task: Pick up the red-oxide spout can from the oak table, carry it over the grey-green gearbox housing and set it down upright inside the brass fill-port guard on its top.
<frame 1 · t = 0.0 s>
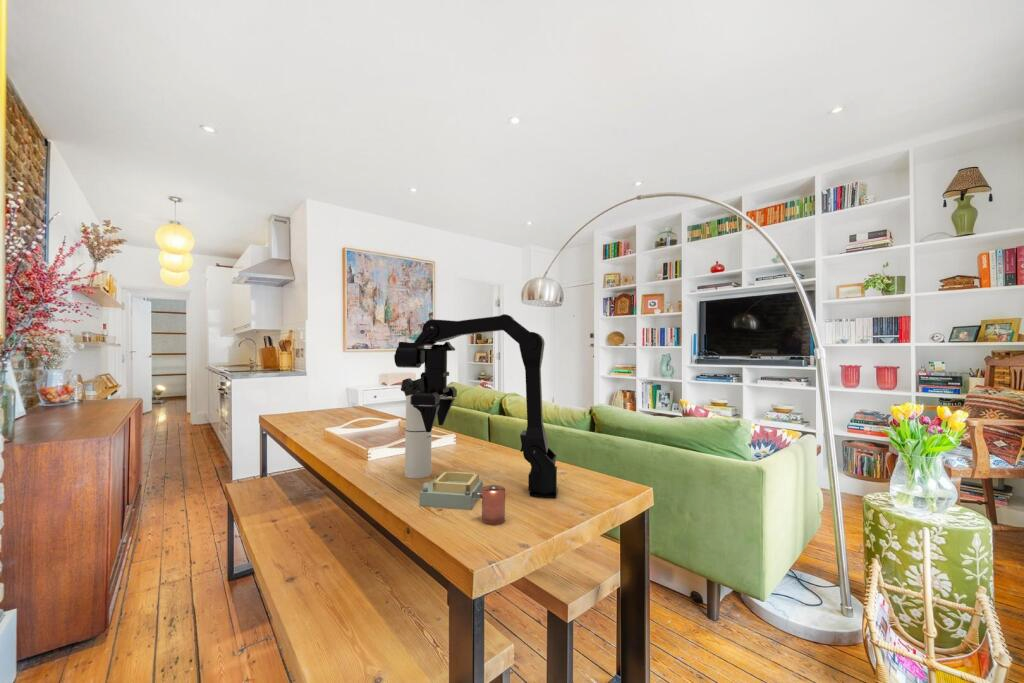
hand: (434, 428, 106), 15 cm above the table, fingers open, 9 cm apart
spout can: (493, 520, 85), on the table
cylindrical container: (418, 475, 115), on the table
gearbox housing: (452, 498, 97), on the table
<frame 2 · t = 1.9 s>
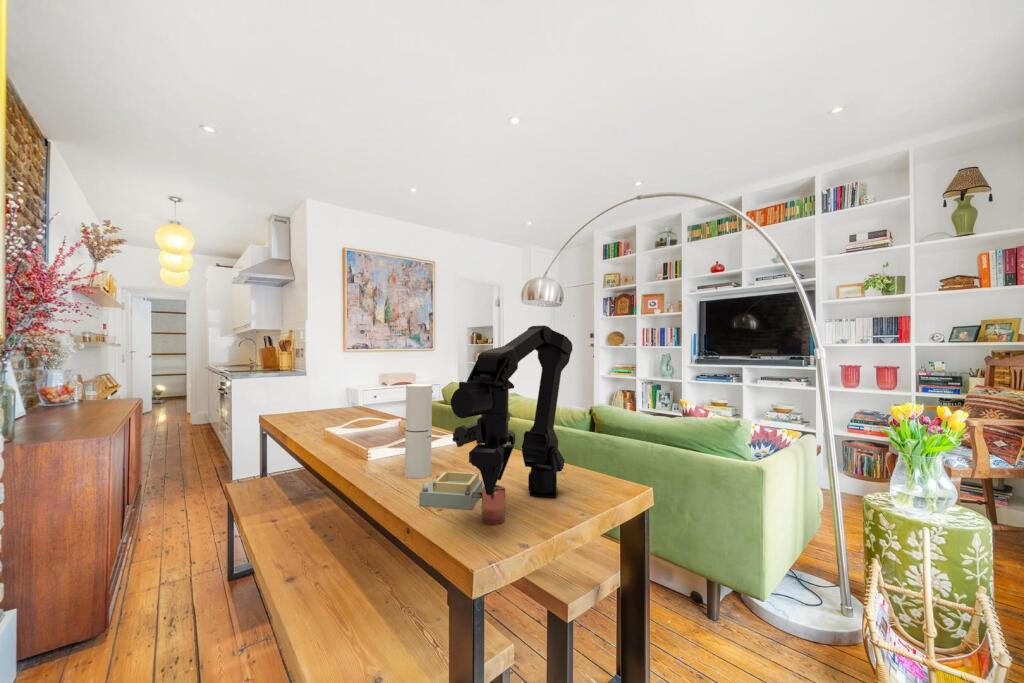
hand: (494, 486, 85), 7 cm above the table, fingers open, 9 cm apart
nothing on the table moved.
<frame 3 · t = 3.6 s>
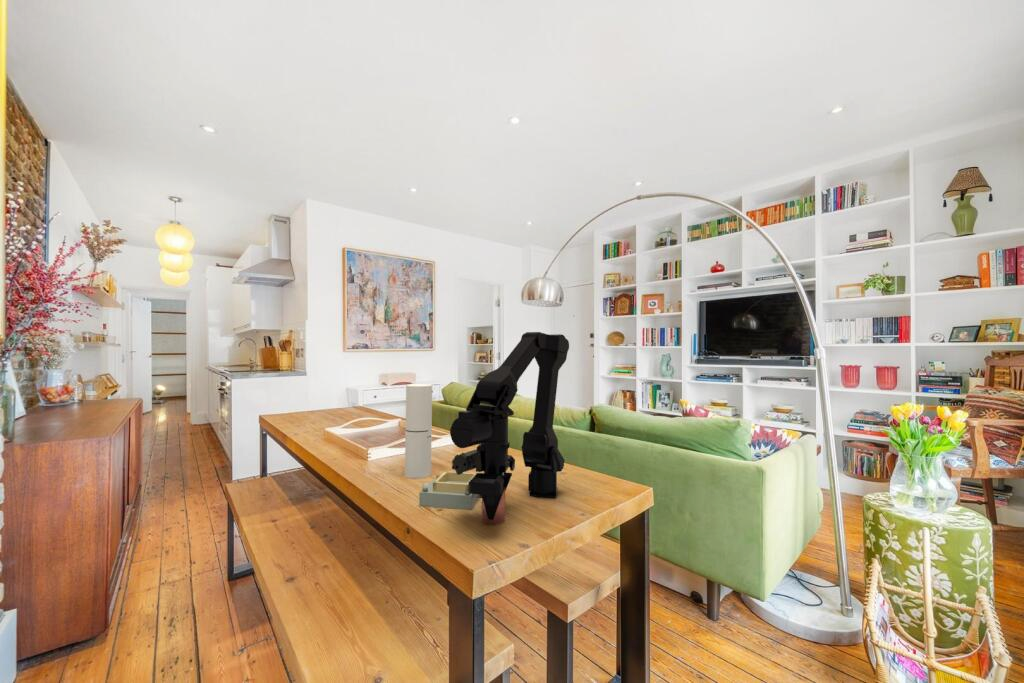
hand: (493, 514, 85), 1 cm above the table, fingers closed on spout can, 5 cm apart
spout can: (493, 520, 85), on the table, touching gripper
everything else where it was.
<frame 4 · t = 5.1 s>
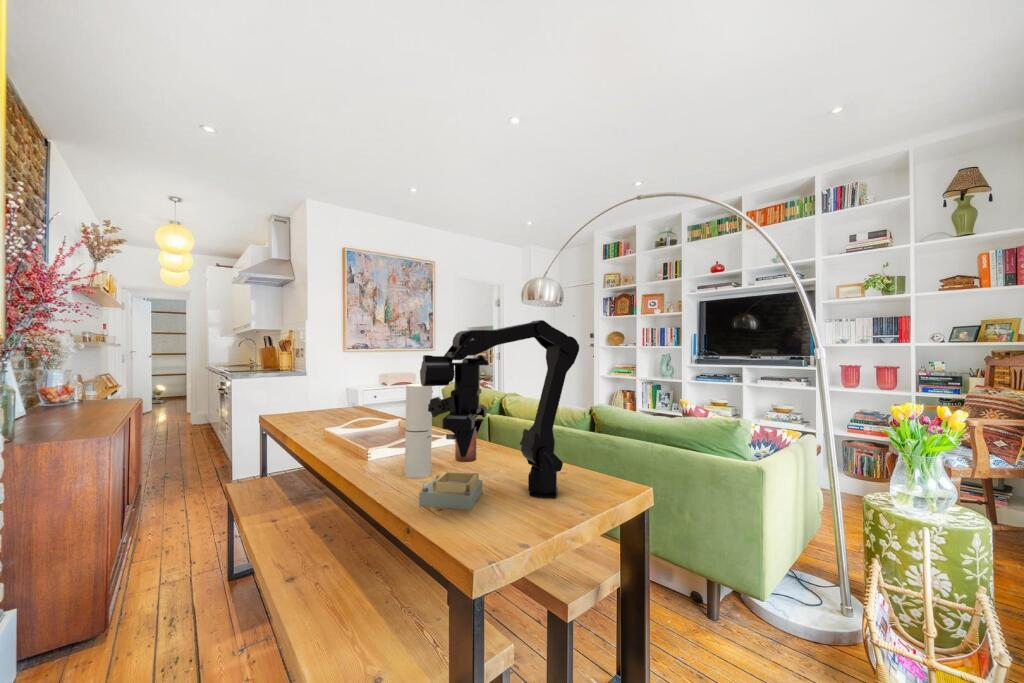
hand: (465, 453, 93), 12 cm above the table, fingers closed on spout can, 5 cm apart
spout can: (465, 459, 93), point 10 cm above the table, touching gripper
everything else where it was.
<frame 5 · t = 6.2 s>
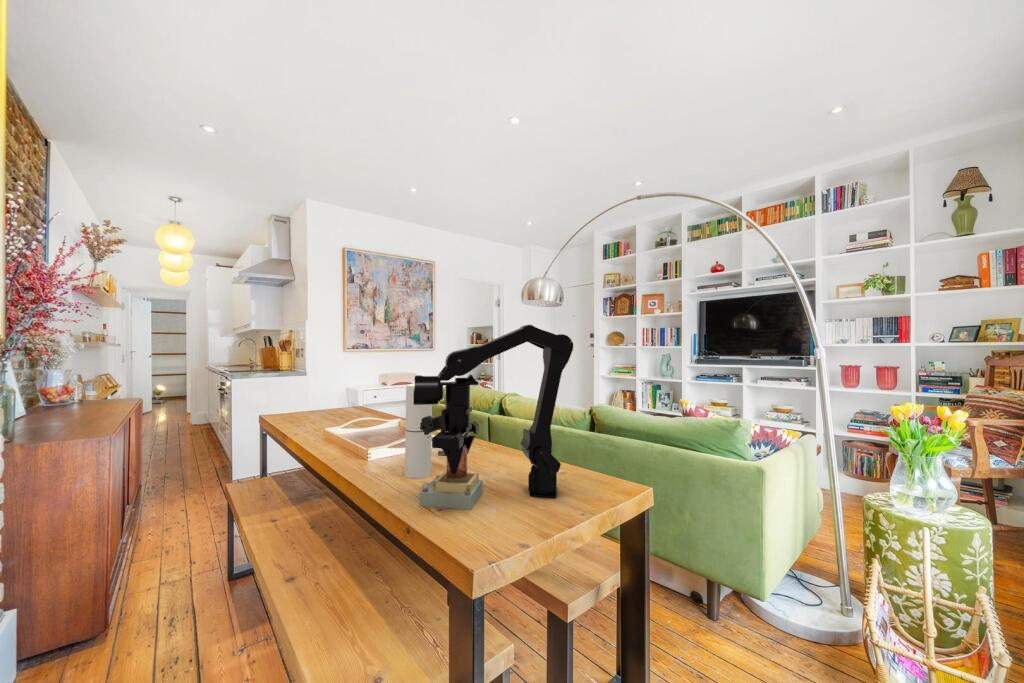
hand: (457, 470, 97), 7 cm above the table, fingers closed on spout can, 5 cm apart
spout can: (456, 475, 97), point 6 cm above the table, touching gripper
everything else where it was.
when the fingers open (6 cm above the table, at t = 7.1 s): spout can drops 2 cm, resting on gearbox housing.
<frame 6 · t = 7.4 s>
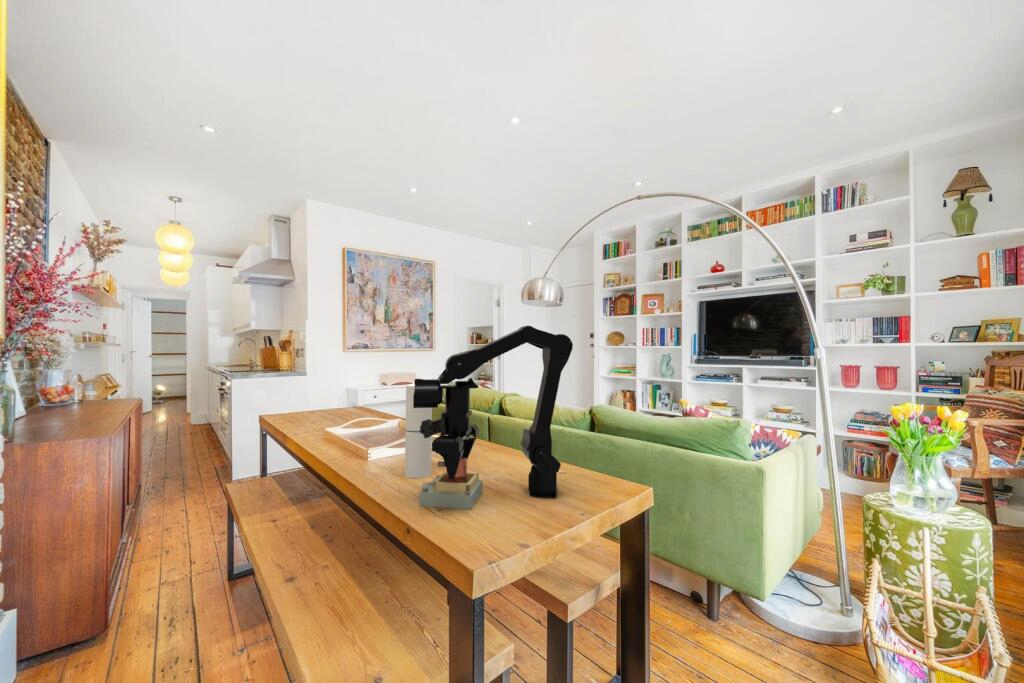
hand: (456, 473, 97), 6 cm above the table, fingers open, 8 cm apart
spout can: (456, 486, 97), point 3 cm above the table, touching gearbox housing
everything else where it was.
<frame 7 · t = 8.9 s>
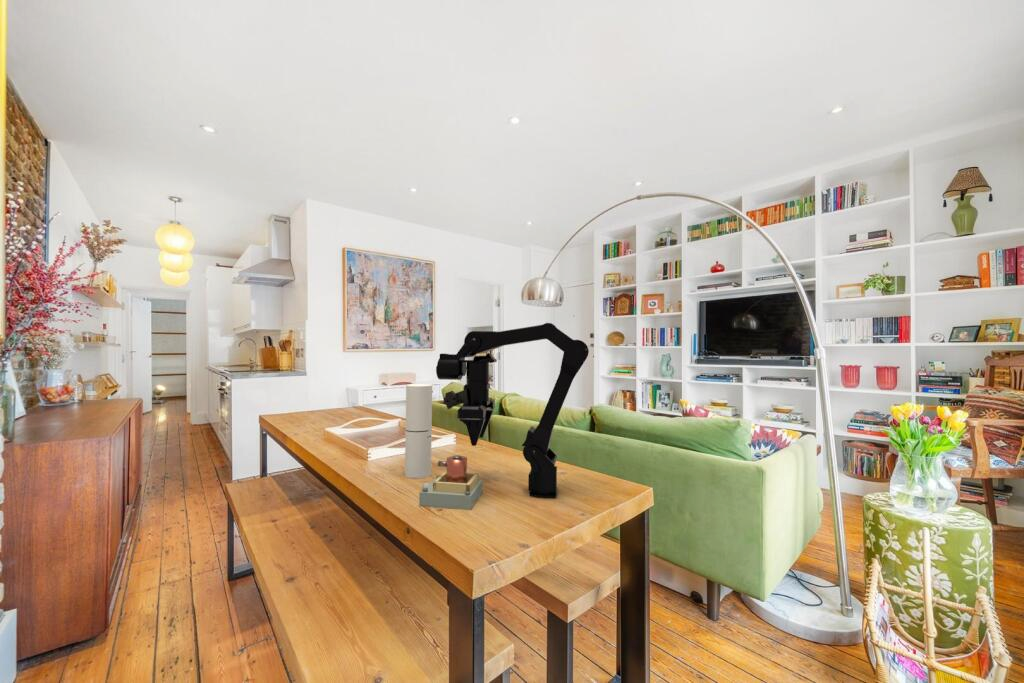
hand: (477, 441, 105), 12 cm above the table, fingers open, 9 cm apart
nothing on the table moved.
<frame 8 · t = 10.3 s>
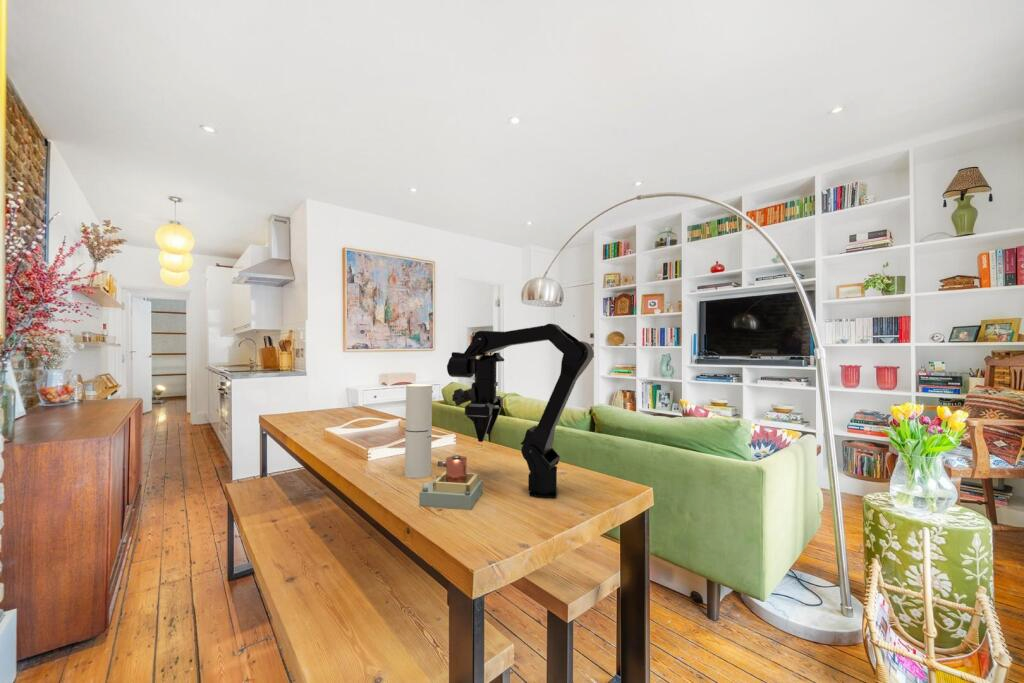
hand: (484, 437, 108), 12 cm above the table, fingers open, 9 cm apart
nothing on the table moved.
at the end: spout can 0.0 cm from the target spot on the gearbox housing, point 3.0 cm above the gearbox housing's base; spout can tilted 1°; the gripper is holding nothing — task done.
